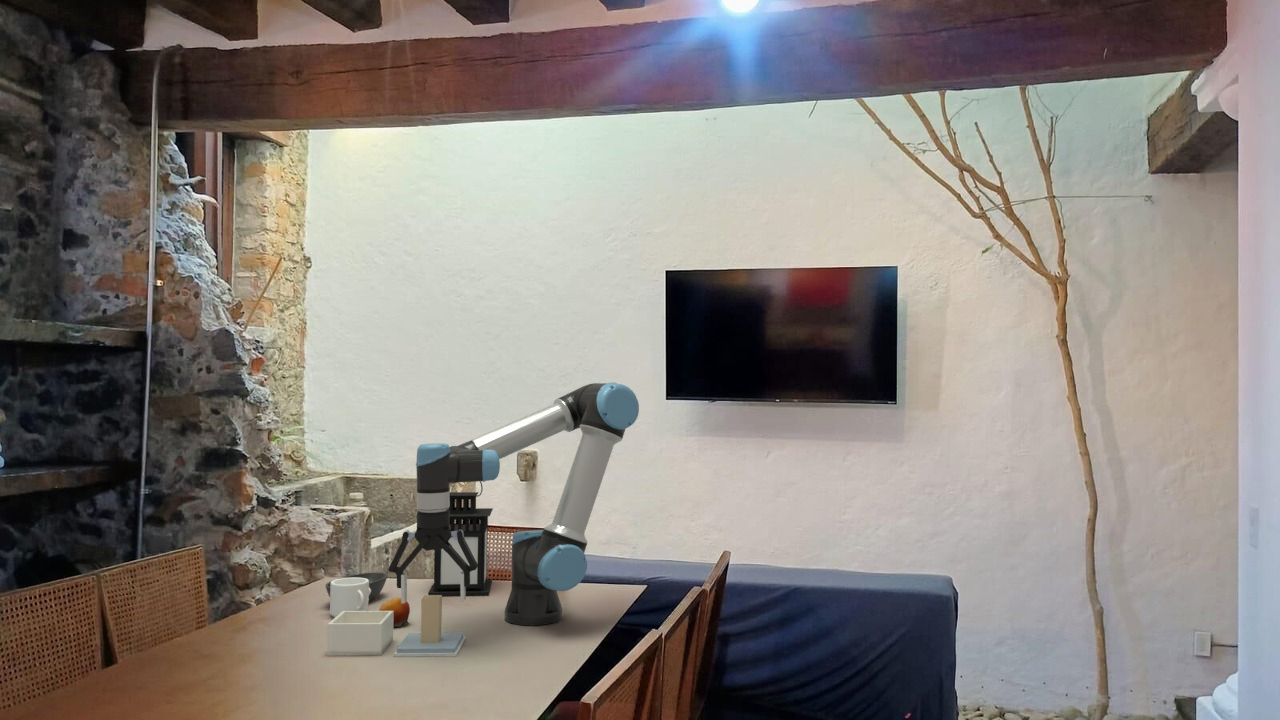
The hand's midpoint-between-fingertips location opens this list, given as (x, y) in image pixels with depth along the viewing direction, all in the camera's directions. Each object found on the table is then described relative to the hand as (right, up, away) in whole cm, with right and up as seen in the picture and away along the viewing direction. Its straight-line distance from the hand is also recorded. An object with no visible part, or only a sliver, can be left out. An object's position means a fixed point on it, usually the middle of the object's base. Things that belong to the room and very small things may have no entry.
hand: (433, 601), depth 205 cm
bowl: (-32, -12, +43) cm, 55 cm away
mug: (-28, -12, +27) cm, 41 cm away
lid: (0, -10, -1) cm, 10 cm away
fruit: (-15, -11, +19) cm, 26 cm away
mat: (-1, -11, -1) cm, 11 cm away
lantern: (-6, -13, +59) cm, 61 cm away
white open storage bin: (-17, -10, -2) cm, 19 cm away
